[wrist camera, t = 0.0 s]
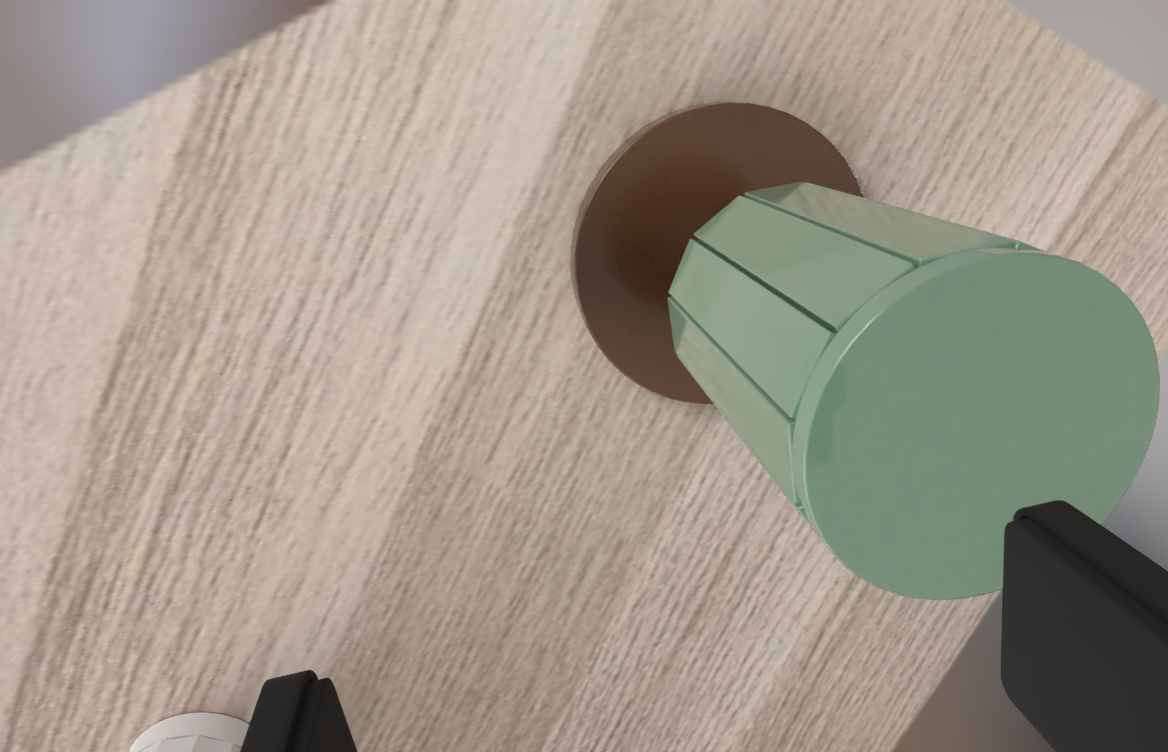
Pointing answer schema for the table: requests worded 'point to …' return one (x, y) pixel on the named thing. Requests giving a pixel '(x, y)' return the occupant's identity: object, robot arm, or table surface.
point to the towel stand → (678, 221)
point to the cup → (193, 734)
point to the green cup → (913, 377)
